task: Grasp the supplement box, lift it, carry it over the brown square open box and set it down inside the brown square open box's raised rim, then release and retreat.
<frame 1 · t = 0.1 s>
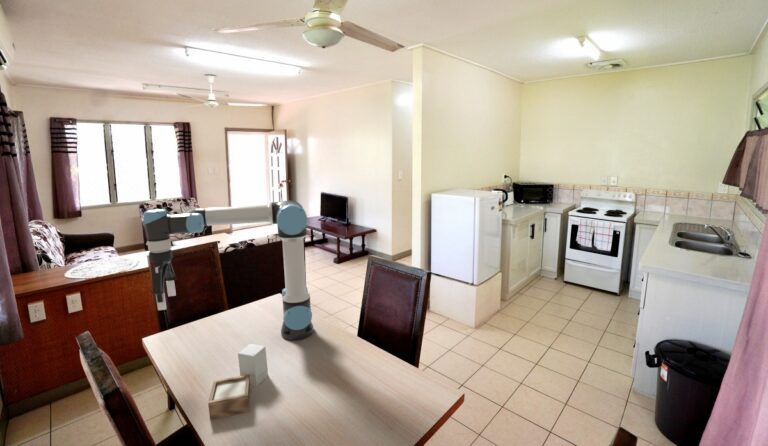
hand: (167, 302, 141), 28 cm above the table, fingers open, 13 cm apart
supplement box: (254, 379, 138), on the table
brown square open box: (231, 403, 125), on the table
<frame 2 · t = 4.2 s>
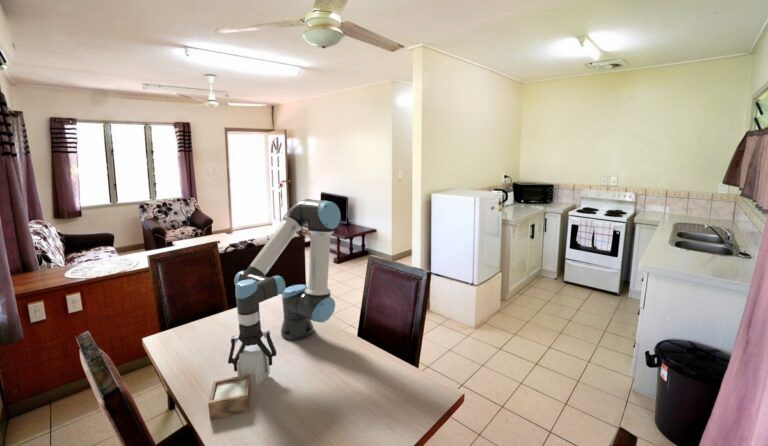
hand: (254, 375, 138), 2 cm above the table, fingers closed on supplement box, 10 cm apart
supplement box: (254, 379, 138), on the table, touching gripper
when the fingers open (8 cm above the table, at t = 9.0 s): supplement box drops 1 cm, resting on brown square open box.
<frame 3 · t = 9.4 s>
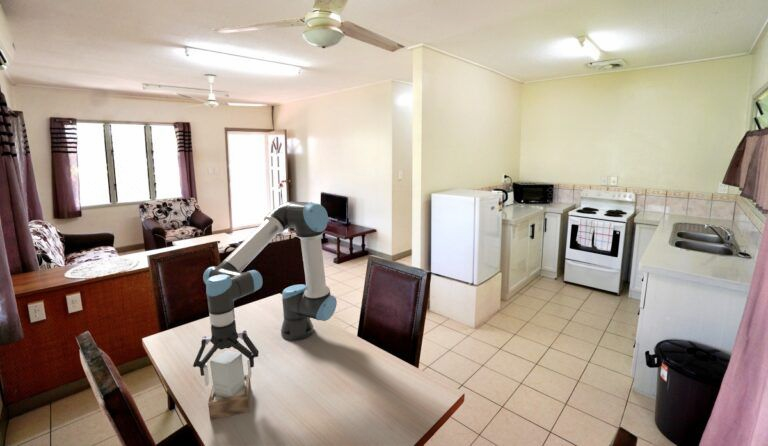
hand: (229, 379, 123), 9 cm above the table, fingers open, 13 cm apart
supplement box: (229, 390, 124), point 5 cm above the table, touching brown square open box
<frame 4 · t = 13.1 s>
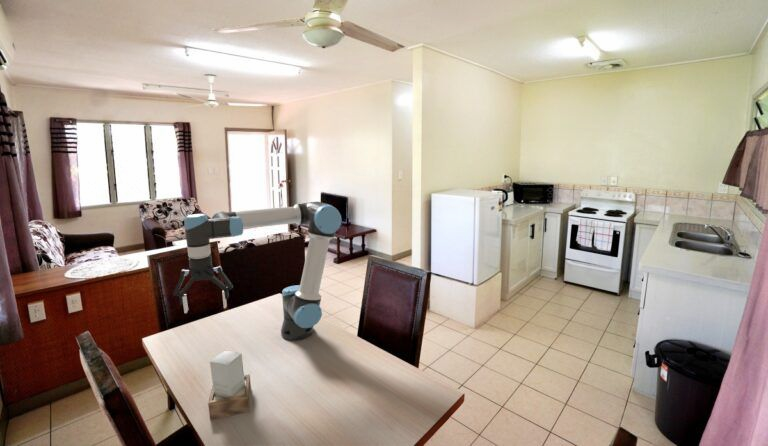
hand: (206, 309, 137), 27 cm above the table, fingers open, 13 cm apart
nothing on the table moved.
at the end: supplement box 0.2 cm off-centre on the brown square open box, point 5.0 cm above the brown square open box's base; supplement box tilted 0°; the gripper is holding nothing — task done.
